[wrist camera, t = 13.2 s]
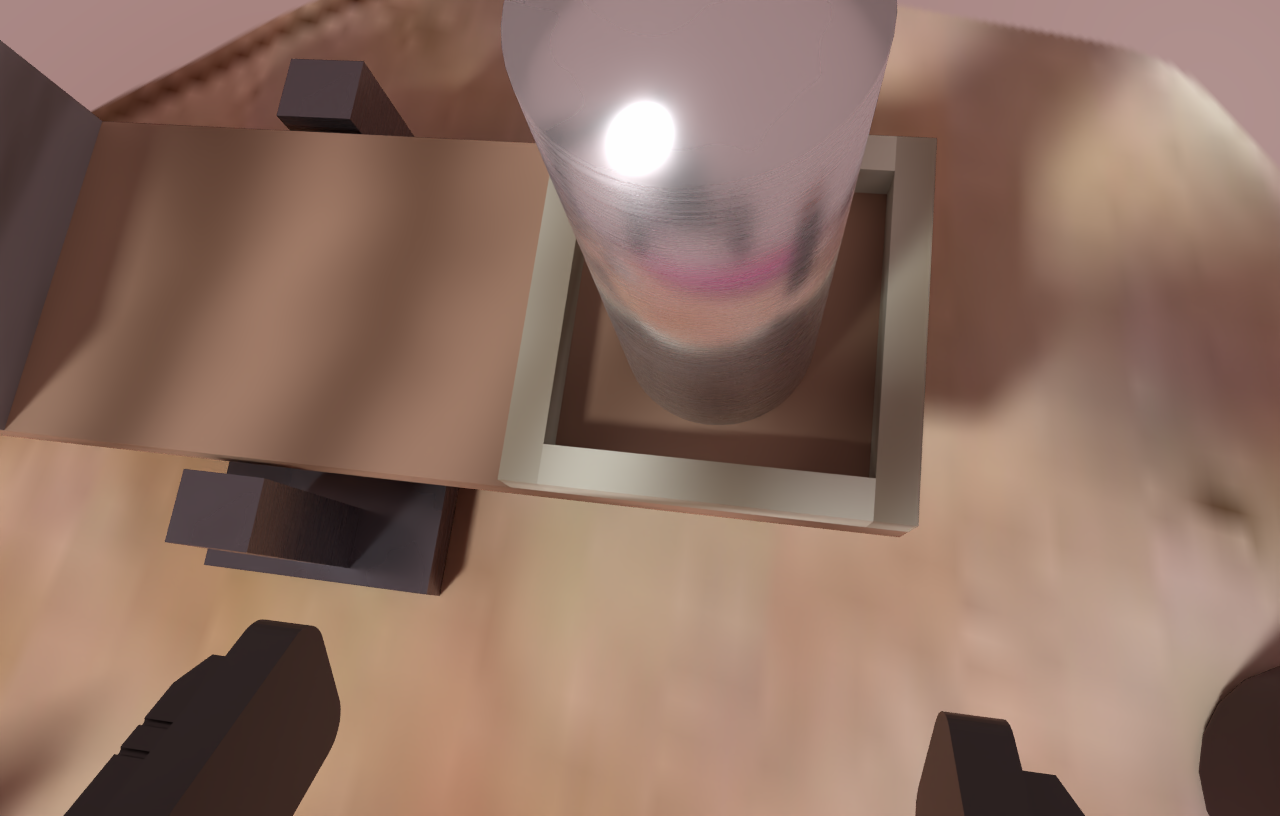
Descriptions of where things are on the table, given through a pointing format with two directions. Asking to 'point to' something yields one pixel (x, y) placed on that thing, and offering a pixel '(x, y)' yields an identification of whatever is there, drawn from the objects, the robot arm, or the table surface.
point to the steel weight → (704, 174)
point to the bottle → (1244, 750)
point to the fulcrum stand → (312, 500)
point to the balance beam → (418, 320)
